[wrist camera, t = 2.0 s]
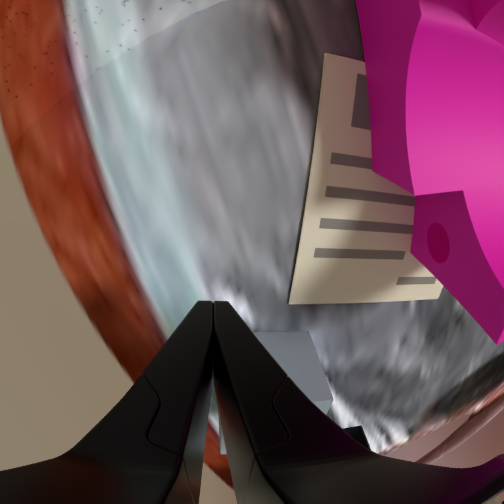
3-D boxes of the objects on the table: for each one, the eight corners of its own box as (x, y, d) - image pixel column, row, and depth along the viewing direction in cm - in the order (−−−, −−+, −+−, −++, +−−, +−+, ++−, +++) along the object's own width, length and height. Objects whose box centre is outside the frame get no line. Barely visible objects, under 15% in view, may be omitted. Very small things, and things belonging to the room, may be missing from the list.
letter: (437, 297, 17) (438, 298, 17) (288, 303, 16) (288, 304, 16) (488, 109, 12) (489, 109, 12) (324, 53, 11) (325, 52, 10)
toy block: (345, -44, 8) (443, -116, 2) (452, -18, 8) (560, -36, 2) (370, 261, 15) (449, 366, 9) (459, 242, 15) (544, 316, 9)
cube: (293, 384, 19) (309, 447, 15) (217, 387, 19) (220, 454, 14) (308, 329, 17) (333, 399, 13) (218, 331, 17) (221, 406, 12)
